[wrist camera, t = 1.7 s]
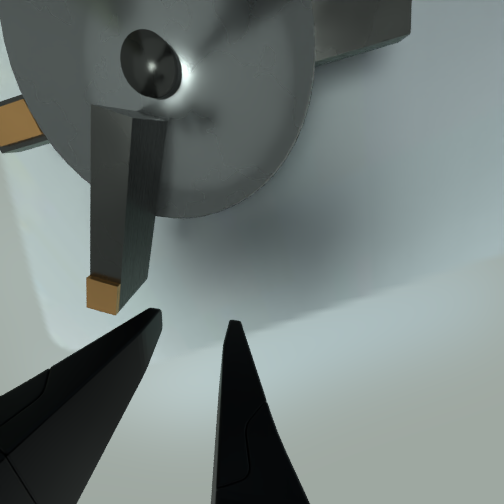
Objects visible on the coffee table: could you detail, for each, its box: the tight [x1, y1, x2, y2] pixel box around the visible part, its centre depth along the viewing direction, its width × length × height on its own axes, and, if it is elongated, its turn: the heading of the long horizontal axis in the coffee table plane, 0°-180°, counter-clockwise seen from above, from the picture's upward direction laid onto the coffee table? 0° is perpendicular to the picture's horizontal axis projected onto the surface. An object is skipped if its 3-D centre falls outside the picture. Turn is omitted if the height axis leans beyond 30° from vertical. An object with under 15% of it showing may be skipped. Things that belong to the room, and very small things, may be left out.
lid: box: [0, 0, 315, 315], centre depth 11 cm, size 19×15×5 cm
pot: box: [0, 0, 412, 205], centre depth 15 cm, size 24×15×5 cm, turn 103°
